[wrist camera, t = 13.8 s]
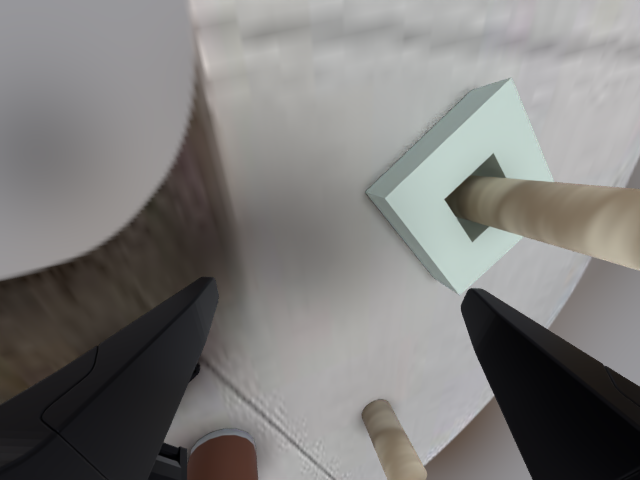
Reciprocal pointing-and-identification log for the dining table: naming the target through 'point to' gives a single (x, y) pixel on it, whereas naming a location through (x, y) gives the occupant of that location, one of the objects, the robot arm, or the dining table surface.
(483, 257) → the collar block
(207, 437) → the coffee cup
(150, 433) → the robot arm
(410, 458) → the short pin
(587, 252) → the tall pin
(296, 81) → the dining table surface
